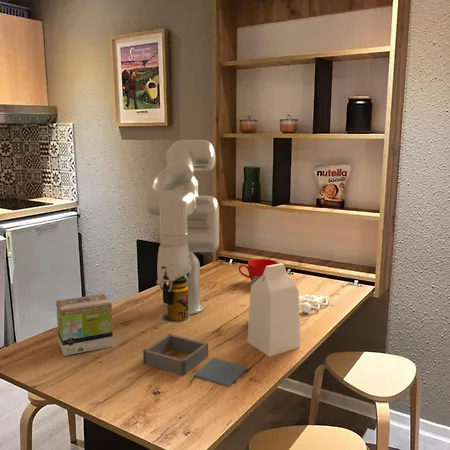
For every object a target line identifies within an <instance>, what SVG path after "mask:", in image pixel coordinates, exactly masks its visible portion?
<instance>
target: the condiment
mask: <svg viewBox="0 0 450 450" xmlns="http://www.w3.org/2000/svg"><path fill="white" fill-rule="evenodd" d="M167 280H169V278H167ZM167 285H168V286H169V282H167ZM172 291H173V299H174V304H173V305H170V304H166V307H167V308H166V309H167V313H159V320H160V324H172V323H173V324H175V323H176V324H177V323H188V322H189V323H190V322H192V319H191V317H190V314H189V310H188V309H189V306H188V305H189V303H188V301H189V300H188V287H187V279H186V277H181V278H179V279H177V280H175V281H173V286H172Z"/></svg>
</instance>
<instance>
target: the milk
mask: <svg viewBox="0 0 450 450" xmlns="http://www.w3.org/2000/svg"><path fill="white" fill-rule="evenodd" d="M250 286H251V285H250ZM249 293H250V294H249V311H248V326H247V327H248V328H247V343H248V344H249V345H251V346H253V347H254V348H256V350H259V352H262V353H263V354H264V355H266V356H268V357H274V356H276V355H279V354H282V353H285V352H289V351H291V350H294V349H298V347H299V348H300V347H301V333H300V332H301V331H300V330H301V329H300V306H299V296H300V295H299V294H300V293H299V288H298V287H297V286H296V284H295V282H294V280H292V278H291V276H290V275H289V273H288V271H287V270H286V266H285V264H284V263H281V262H280V263H279V262H278V264H274V265H269V266H266V268H265V270H264V273H263V276H261V277H260V278H259V279H258V280H257V281H256V282H255V283H254V284H253V285H252V286H251V292H249Z"/></svg>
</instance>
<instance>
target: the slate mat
mask: <svg viewBox="0 0 450 450" xmlns="http://www.w3.org/2000/svg"><path fill="white" fill-rule="evenodd" d="M247 369H248V366H245V365H242V364H239V363H235V362H231V361H227V360H223V359H220V358H215V357H213V358H212V359H210V360H209V361H208V362H207V363H206V364H204V366H202V367H201V368H200V369H198V371H196V372H195V373H193V377H196V378H199V379H202V380H206V381H210V382H213V383H216V384H219V385H223V386H225V387H230V386H231V385H232V384H233V383H234V382H235V381H236V380H237V379H238V378H239V377H240V376H241V375H242V374H243V373H244V372H246V370H247Z"/></svg>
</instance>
